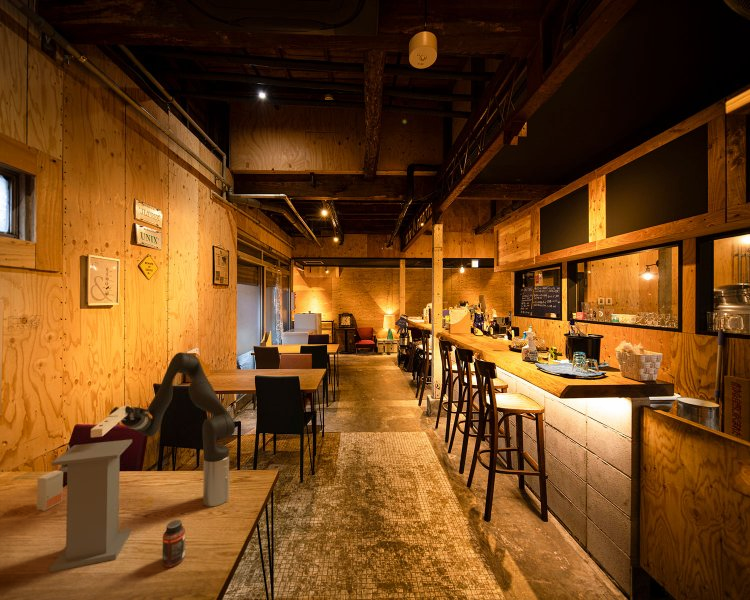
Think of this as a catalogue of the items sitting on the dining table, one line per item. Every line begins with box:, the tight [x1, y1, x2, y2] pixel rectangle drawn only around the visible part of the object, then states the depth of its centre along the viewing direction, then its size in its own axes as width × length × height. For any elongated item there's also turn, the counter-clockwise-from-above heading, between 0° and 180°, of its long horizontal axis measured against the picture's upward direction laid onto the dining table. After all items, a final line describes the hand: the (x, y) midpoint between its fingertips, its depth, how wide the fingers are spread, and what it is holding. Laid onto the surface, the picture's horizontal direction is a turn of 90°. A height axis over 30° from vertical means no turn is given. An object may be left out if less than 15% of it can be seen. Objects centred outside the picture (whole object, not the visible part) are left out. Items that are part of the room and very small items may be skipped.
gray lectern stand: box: [49, 439, 133, 573], centre depth 104 cm, size 16×12×32 cm
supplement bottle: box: [162, 519, 186, 568], centre depth 101 cm, size 6×6×11 cm
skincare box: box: [36, 470, 64, 511], centre depth 127 cm, size 6×4×12 cm
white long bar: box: [90, 405, 132, 438], centre depth 117 cm, size 3×24×3 cm, turn 19°
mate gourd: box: [58, 444, 71, 488], centre depth 142 cm, size 8×8×15 cm
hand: (121, 409), depth 123 cm, fingers closed on white long bar, 3 cm apart
